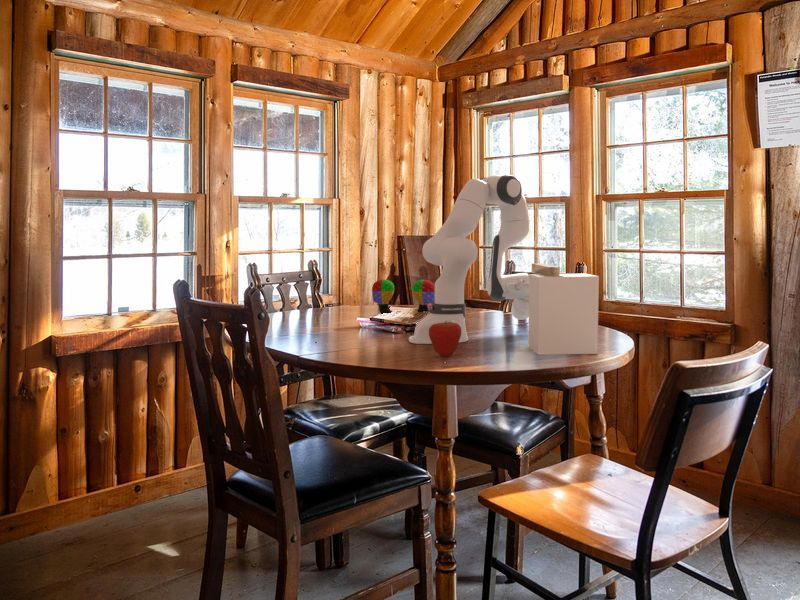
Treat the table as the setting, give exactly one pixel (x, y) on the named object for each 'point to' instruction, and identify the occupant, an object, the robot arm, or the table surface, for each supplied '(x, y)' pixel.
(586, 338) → the white cardboard box
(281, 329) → the table surface
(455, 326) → the apple
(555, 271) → the tan rectangular block
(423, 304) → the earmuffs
